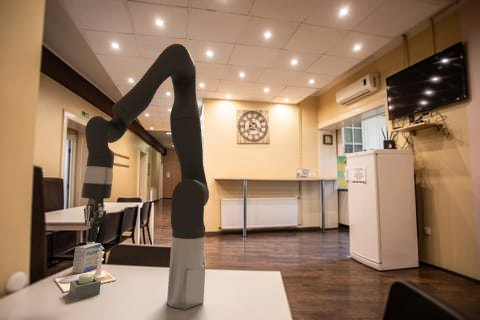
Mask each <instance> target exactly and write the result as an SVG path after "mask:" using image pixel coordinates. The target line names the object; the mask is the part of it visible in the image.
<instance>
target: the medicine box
mask: <svg viewBox="0 0 480 320" xmlns="http://www.w3.org/2000/svg"><path fill="white" fill-rule="evenodd" d="M101 246H103V245H102V243H98V242H90V243H88V244H83V245H80V246H77V247H74V254H73V255H74V257H73V263H72V264H73V265H72V273H75V274H82V273H87V272H91V271H92V270H96V269H97V265H98V261H96V260H97V259H98V254H97V253H98V252H100V250H98V249H99V248H101Z"/></svg>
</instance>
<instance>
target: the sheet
mask: <svg viewBox="0 0 480 320" xmlns="http://www.w3.org/2000/svg"><path fill="white" fill-rule="evenodd" d="M95 272H96V270H93V271H92V270H91V271H88V272H85V273H76V274H73V275H68V276H62V277H58V278H54V282H55V283H56V284H57V286H58V287H59V288H60V289H61V291H62V292H63V293H64V294H65V293H69V290H70V282H71V281H73V280H78V279H79V276H80V275H83V274H95ZM102 273H106V274H107V275H106V276H107V277H106V278H104V279H102V280H100V281H101V285H103V284H108V283H112V282H115V281H116V282H117V278H115V277H114V276H112V274H110V273H109V272H107V271H106V270H105V269H102Z"/></svg>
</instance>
